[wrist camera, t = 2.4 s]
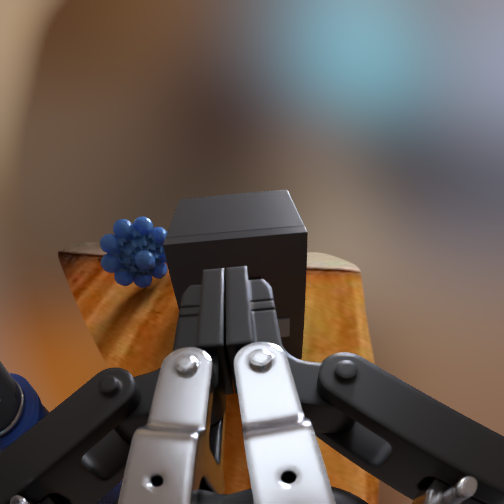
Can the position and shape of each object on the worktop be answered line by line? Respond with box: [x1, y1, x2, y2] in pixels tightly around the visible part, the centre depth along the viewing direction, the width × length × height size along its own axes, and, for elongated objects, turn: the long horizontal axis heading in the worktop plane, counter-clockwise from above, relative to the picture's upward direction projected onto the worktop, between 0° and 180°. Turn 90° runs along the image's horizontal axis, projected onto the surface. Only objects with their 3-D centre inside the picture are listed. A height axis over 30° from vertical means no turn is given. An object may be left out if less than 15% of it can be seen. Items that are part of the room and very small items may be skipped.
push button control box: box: [163, 190, 307, 359], centre depth 34 cm, size 12×10×16 cm
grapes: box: [100, 217, 168, 288], centre depth 44 cm, size 12×7×12 cm, turn 131°
